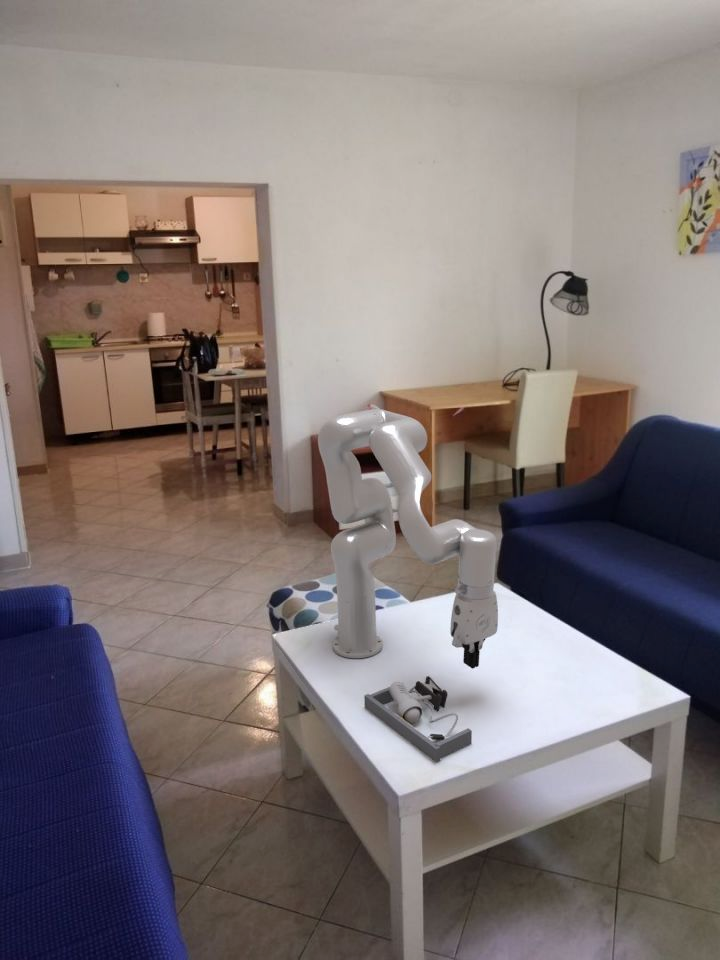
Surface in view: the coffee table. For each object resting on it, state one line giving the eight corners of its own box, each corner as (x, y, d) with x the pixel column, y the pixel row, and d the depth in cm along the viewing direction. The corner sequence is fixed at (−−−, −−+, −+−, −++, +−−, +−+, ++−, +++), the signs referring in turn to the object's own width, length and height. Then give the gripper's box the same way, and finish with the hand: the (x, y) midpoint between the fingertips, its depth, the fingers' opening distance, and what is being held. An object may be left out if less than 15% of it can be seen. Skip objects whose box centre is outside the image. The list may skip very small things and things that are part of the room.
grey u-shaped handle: (364, 707, 159) (364, 695, 158) (399, 693, 164) (399, 681, 163) (436, 763, 139) (436, 749, 139) (473, 745, 144) (473, 731, 144)
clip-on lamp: (467, 746, 149) (429, 687, 164) (474, 723, 147) (434, 665, 162) (415, 756, 145) (381, 695, 160) (421, 732, 142) (386, 672, 157)
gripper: (460, 603, 147) (456, 683, 152) (513, 586, 155) (507, 662, 161) (436, 589, 153) (433, 667, 158) (488, 573, 161) (484, 648, 166)
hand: (470, 664), depth 159 cm, fingers closed
